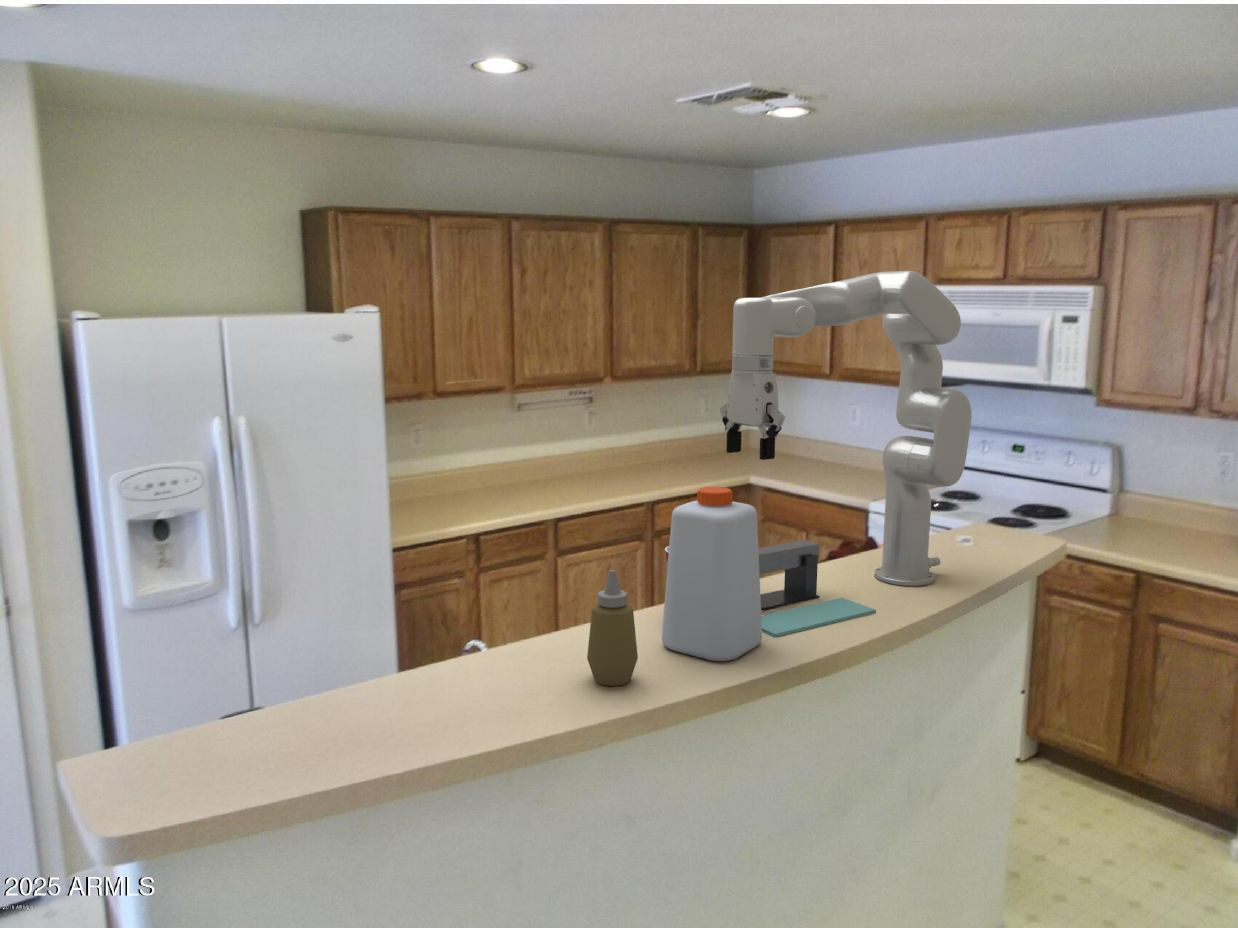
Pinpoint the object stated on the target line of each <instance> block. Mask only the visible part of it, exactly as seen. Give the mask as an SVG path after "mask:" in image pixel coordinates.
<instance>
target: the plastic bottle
mask: <svg viewBox="0 0 1238 928" xmlns="http://www.w3.org/2000/svg"><path fill="white" fill-rule="evenodd" d="M696 492H697V493H696V494H697V495H696V500H694V501H690V502H687V503H684V504H681V505H678V506H675V508H674V509H673V510H672V513H671V520H670V521H671V522H670V531H669V533H670V534H669V535H670V536H669V542H668V543H669V545H668V546H669V556H668V568H667V567H666V582H665V596H664V605H663V616H662V617H663V619H662V632H661V641H662V644H663V645H664V646H665V647H666V648H667V649H670V650H671V651H673V652H678V653H681V654H686V655H689V656H691V657H692V656H693V657H697V658H700V659H704V660H707V661H713V662H729V661H733V660H736V659H738V658H740V656H742V655H743V656H744V654H746V653H748V652H749V651H751V650H753V649H754V648H756V647H757V646H759V645H760V644H761V642H762V639H763V632H762V622H761V616H762V611H761V599H760V594H761V582H760V581H761V579H760V575H761V574H759V552H758V548H759V533H758V514H757V513H758V512H757V510H756V508H755V507H754V506H753V505H751V504H748V503H743V502H737V501H733V495H734V494H733V491H732V489H730V488H728V487H724V486H704V487H700V488H699V489H698V490H697V491H696Z"/></svg>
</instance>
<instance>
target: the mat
mask: <svg viewBox="0 0 1238 928" xmlns="http://www.w3.org/2000/svg"><path fill="white" fill-rule="evenodd" d="M876 613H877V609H875V608H872V607H870V606H867V605H865V604H862V603H858V602H856V601H853V600H850V599H847V598H844V597H838V598H833V599H830V600H825V601H821V602H817V603H812V604H808V605H804V606H798V607H793V608H790V609H785V610H780V611H776V612H771V613H767V614H761V622H762V633H765V634H766V635H769V636H771V637H774V638H777V637H781V636H785V635H790V634H794V633H797V632H802V631H805V630H809V629H815V628H819V627H822V626H827V625H830V624H835V623H839V622H843V621H848V620H851V619H855V618H860V617H864V616H868V615H872V614H876Z"/></svg>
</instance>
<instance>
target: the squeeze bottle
mask: <svg viewBox="0 0 1238 928" xmlns="http://www.w3.org/2000/svg"><path fill="white" fill-rule="evenodd" d="M634 616H635V615H634V609H633V607H632V606H631V605H630V604H628V593H627V592H626V590H622V589H621V586H620V580H619V577H618V572H617V570H616V569H610V570H608V573H607V578H606V582H605V587H604V589H603V590H601V591H600V590H599V592H598V593H597V604H596V605H595V606H593V608H592V609H591V615H590V625H589V637H588V646H587V655H586V656H587V657H586V659H587V663H588V665H589V667H590V671H591V674H592V677H593V679H594V682H595V683H597V684H600V685H603V686H605V687H606V686H608V687H617V686H623V685H626V684H628V683H629V682H630V681H631V679H632V677H633V673H634V671H635V667H636V664H637V662H638V659H639V655H638V654H639V653H638V646H637V635H636V626H635V625H636V624H635V617H634Z"/></svg>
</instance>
